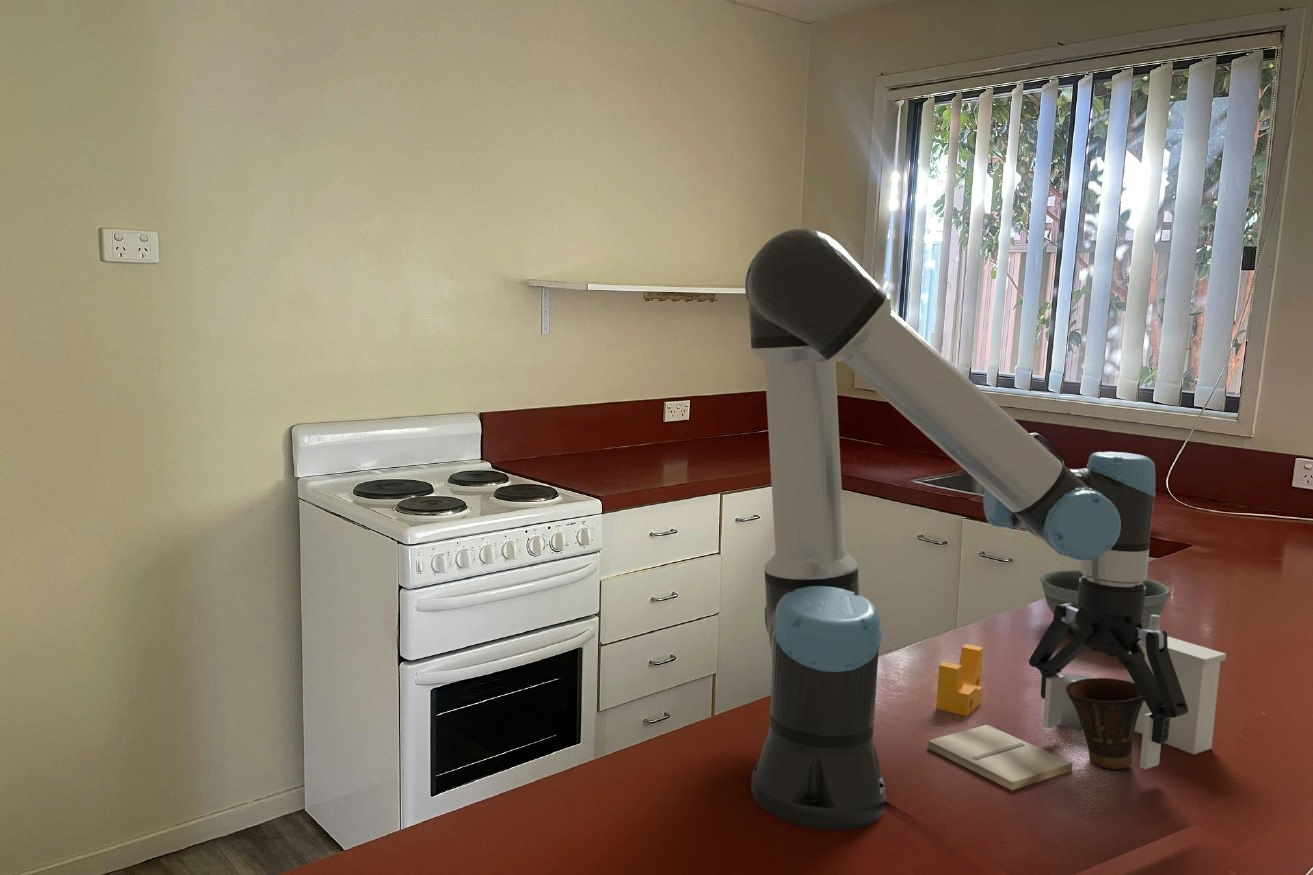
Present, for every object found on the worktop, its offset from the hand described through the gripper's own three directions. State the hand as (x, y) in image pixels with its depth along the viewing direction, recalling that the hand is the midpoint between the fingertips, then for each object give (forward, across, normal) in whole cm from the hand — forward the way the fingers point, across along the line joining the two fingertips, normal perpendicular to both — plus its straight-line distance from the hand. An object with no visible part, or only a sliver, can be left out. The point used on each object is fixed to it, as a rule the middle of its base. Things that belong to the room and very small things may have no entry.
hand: (1098, 744), depth 127 cm
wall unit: (+2, 0, -15) cm, 15 cm away
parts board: (+2, +6, +11) cm, 13 cm away
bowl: (+2, +32, -47) cm, 57 cm away
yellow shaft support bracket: (+2, +22, -1) cm, 22 cm away
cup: (+2, 0, 0) cm, 2 cm away
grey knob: (+2, +9, -8) cm, 12 cm away
